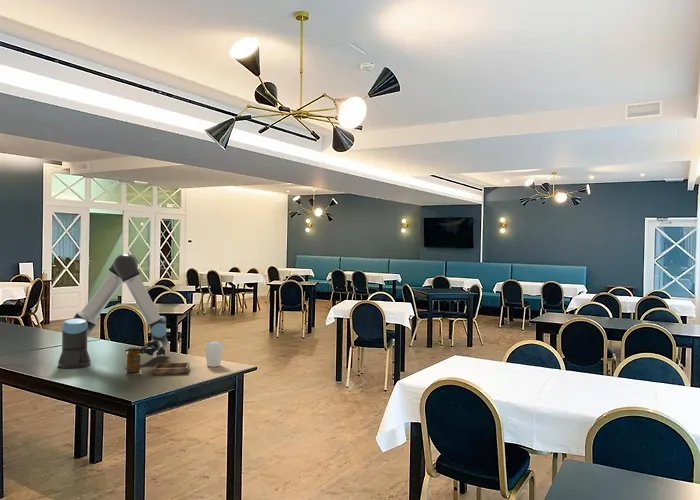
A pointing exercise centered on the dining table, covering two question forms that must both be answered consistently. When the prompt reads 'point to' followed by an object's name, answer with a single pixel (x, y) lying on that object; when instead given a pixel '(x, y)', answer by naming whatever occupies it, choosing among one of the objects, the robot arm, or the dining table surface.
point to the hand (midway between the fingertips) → (140, 355)
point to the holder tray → (170, 368)
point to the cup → (213, 353)
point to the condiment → (133, 361)
